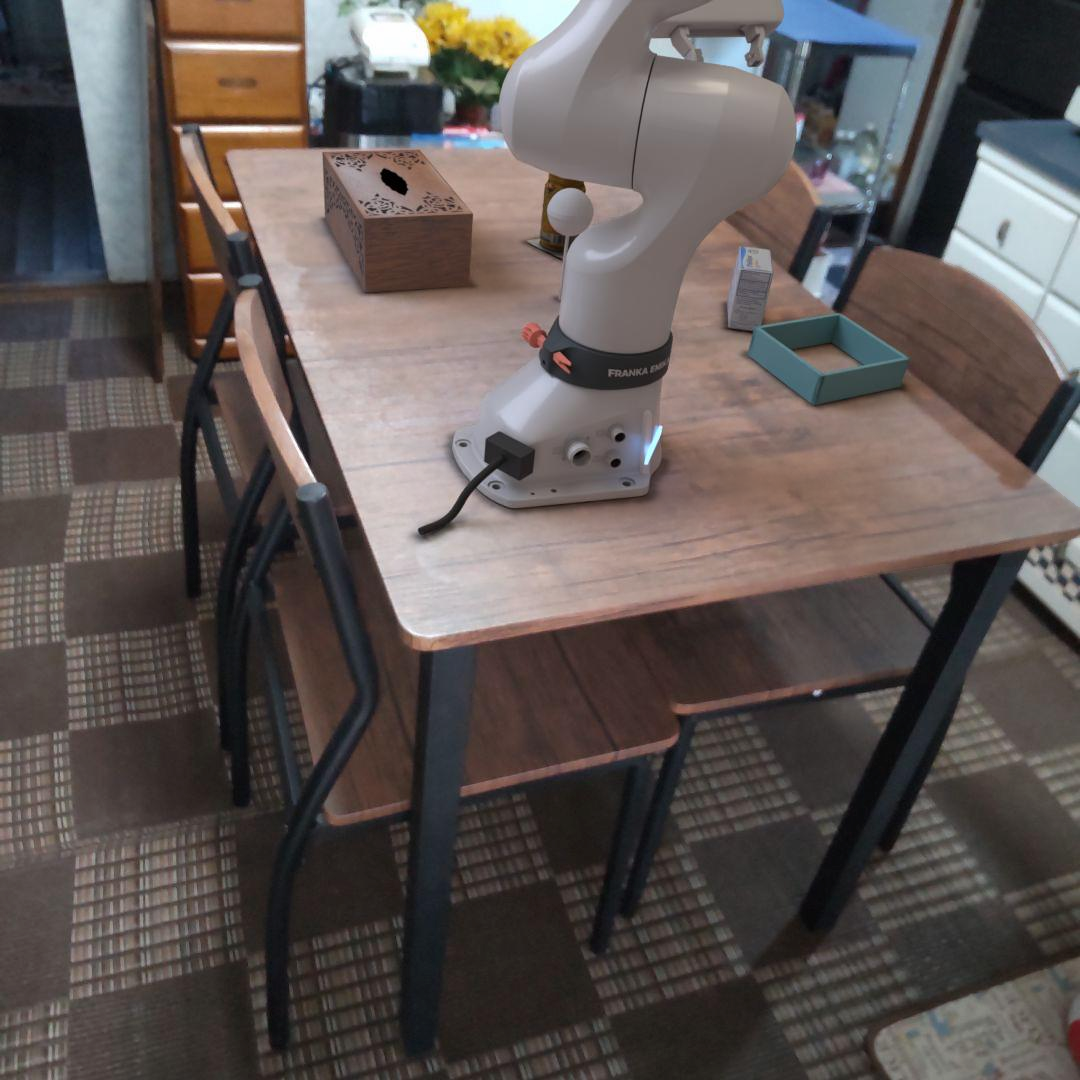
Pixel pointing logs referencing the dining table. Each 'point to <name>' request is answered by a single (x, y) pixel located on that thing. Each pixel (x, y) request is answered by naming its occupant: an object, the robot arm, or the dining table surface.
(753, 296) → the medicine box
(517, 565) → the dining table surface
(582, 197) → the lollipop
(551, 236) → the condiment
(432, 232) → the tissue box cover
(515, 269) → the dining table surface
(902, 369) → the storage box
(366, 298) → the dining table surface
